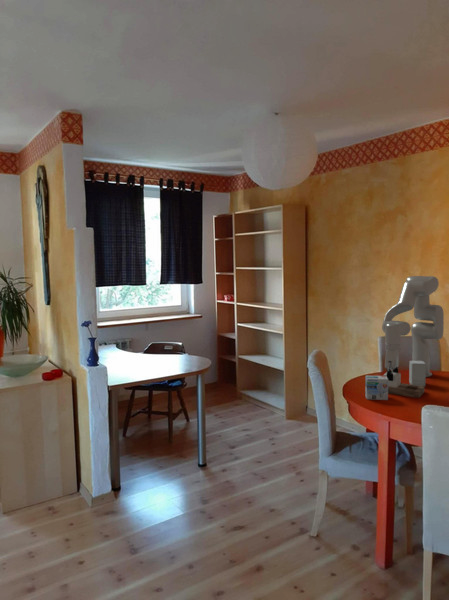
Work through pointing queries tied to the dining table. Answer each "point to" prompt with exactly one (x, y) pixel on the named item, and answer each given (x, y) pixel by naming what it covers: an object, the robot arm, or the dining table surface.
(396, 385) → the cover
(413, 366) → the supplement box
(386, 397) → the light bulb box
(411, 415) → the dining table surface
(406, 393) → the board
